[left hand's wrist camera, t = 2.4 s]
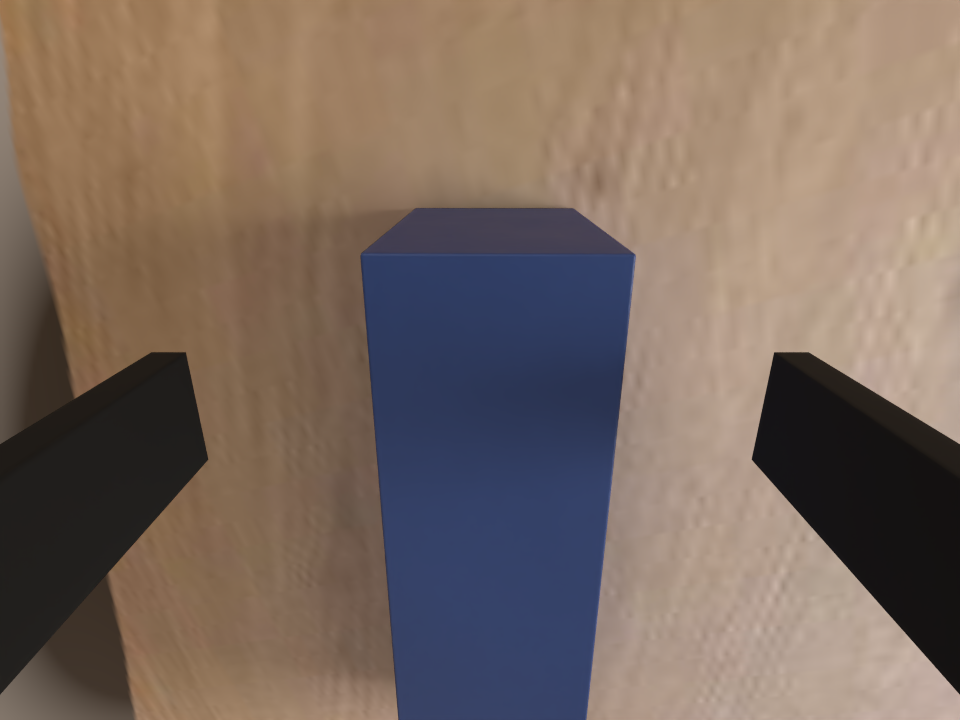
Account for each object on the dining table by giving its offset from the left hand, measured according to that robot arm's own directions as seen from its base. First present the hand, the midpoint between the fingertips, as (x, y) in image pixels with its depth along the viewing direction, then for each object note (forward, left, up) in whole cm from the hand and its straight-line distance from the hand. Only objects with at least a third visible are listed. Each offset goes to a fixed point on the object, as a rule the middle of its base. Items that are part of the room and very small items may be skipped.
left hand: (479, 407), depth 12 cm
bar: (+8, +3, -9) cm, 13 cm away
